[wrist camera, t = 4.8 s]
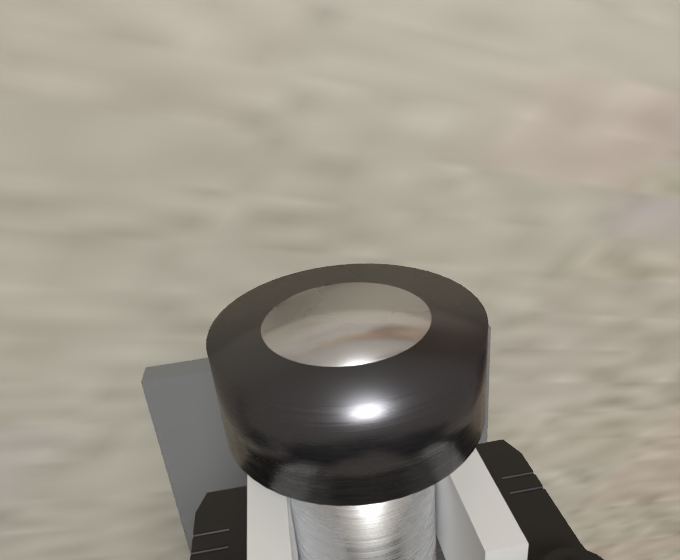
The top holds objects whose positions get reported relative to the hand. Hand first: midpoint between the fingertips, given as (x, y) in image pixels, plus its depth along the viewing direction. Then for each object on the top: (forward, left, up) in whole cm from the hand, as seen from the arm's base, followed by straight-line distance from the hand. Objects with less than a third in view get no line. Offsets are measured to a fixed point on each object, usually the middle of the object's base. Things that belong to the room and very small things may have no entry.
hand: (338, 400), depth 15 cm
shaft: (0, -8, +1) cm, 8 cm away
